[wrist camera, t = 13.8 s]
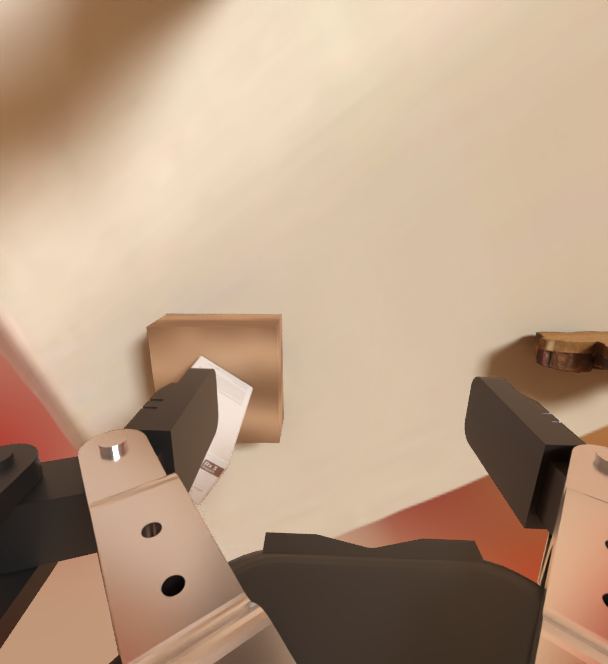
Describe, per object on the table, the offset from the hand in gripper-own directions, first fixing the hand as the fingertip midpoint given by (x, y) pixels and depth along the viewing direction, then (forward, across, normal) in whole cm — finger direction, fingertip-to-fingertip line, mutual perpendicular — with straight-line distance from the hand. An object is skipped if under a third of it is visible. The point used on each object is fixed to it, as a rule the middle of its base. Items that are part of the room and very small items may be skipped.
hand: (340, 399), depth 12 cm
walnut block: (+27, +10, +11) cm, 30 cm away
